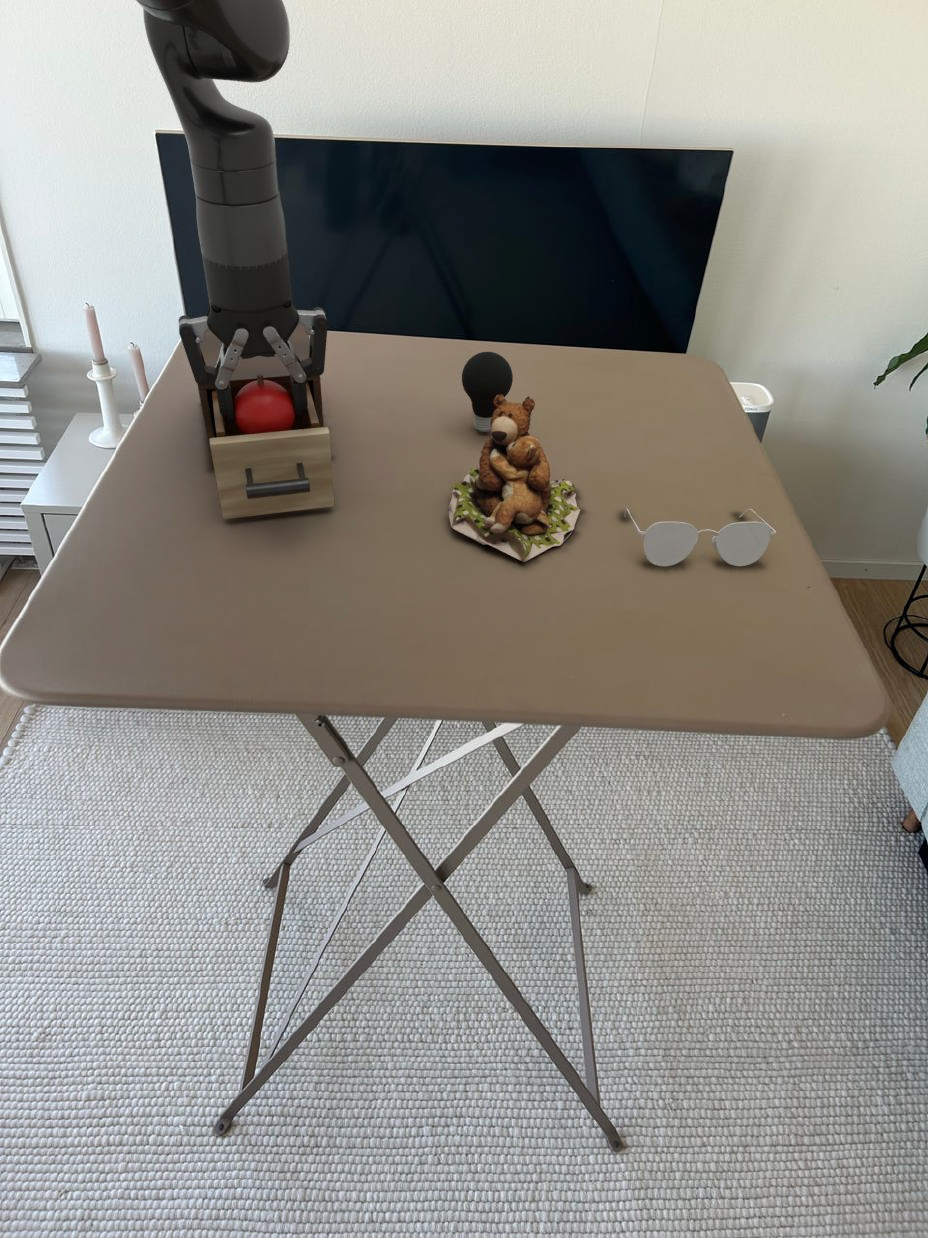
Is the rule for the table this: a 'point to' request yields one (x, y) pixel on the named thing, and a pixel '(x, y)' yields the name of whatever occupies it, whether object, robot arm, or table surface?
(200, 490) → the table surface
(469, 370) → the light bulb
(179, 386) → the table surface
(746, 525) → the sunglasses
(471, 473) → the bear figurine
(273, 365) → the cabinet
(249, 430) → the apple
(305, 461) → the drawer
